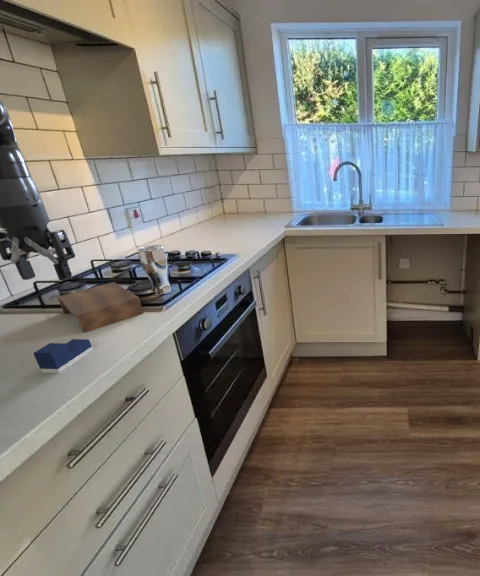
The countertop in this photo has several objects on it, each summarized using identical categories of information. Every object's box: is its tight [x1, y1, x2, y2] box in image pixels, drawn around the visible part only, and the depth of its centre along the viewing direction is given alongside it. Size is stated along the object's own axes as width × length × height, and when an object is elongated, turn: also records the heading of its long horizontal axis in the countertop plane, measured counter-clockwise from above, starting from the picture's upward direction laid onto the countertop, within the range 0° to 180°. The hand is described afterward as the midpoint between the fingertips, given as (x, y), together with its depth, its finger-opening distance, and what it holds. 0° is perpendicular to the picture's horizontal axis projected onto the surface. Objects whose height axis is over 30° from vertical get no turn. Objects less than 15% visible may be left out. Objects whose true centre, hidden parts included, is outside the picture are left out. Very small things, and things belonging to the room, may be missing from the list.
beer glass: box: [137, 244, 174, 295], centre depth 114 cm, size 7×7×15 cm
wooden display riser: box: [57, 281, 145, 334], centre depth 103 cm, size 14×20×5 cm
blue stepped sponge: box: [32, 338, 94, 374], centre depth 80 cm, size 9×4×5 cm, turn 176°
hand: (47, 279), depth 77 cm, fingers open, 8 cm apart
